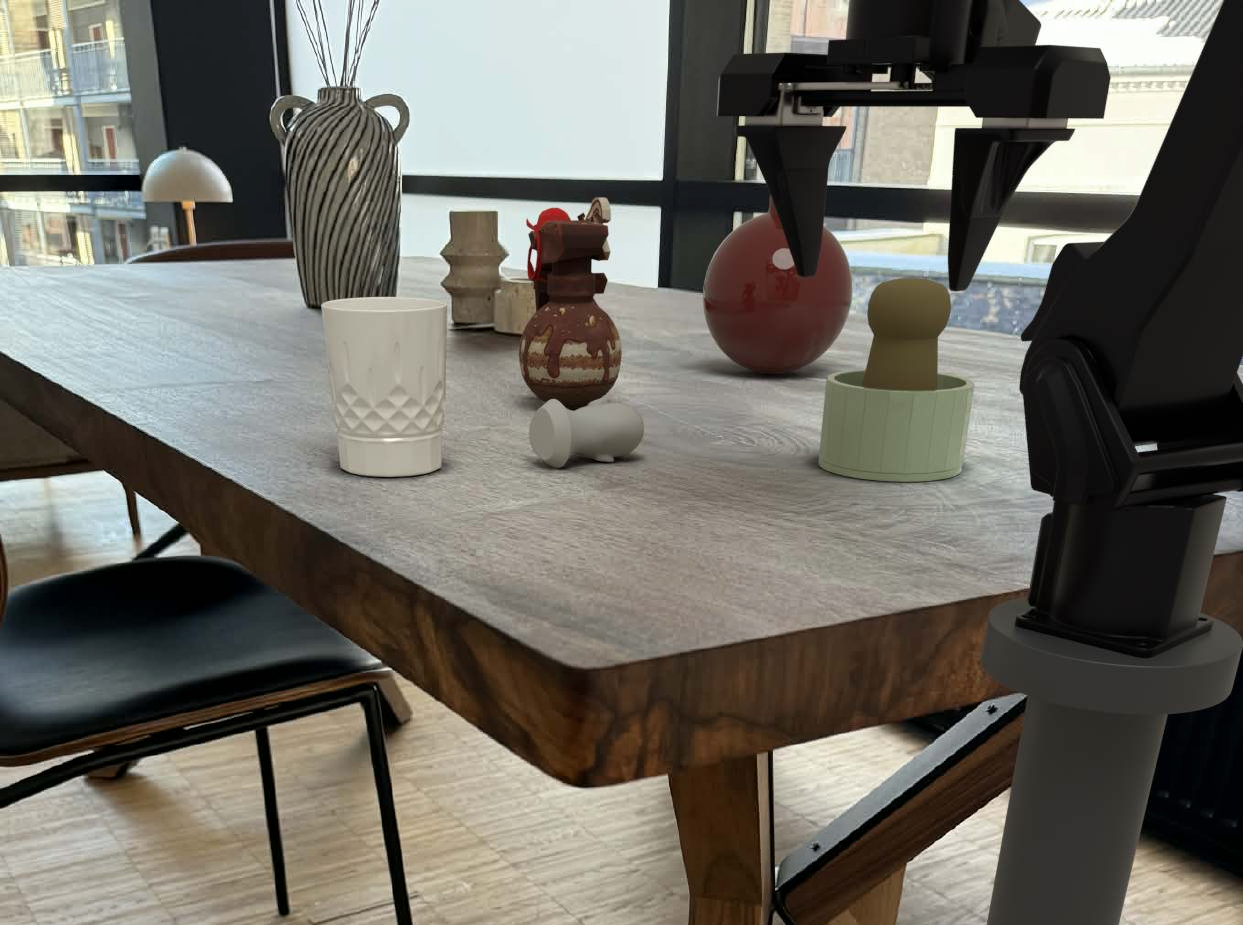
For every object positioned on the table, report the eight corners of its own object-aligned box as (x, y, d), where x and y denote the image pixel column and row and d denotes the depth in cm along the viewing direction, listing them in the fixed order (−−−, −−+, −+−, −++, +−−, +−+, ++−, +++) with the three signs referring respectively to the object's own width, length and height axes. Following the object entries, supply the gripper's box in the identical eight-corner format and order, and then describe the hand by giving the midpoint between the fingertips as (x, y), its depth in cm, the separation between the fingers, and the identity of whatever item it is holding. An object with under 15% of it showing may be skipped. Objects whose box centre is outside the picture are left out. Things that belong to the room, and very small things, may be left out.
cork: (830, 452, 99) (848, 275, 93) (911, 448, 100) (933, 273, 94) (868, 470, 93) (889, 284, 88) (953, 466, 95) (979, 283, 89)
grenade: (501, 399, 119) (500, 195, 112) (594, 394, 122) (598, 194, 114) (537, 419, 112) (538, 201, 104) (635, 413, 114) (643, 200, 106)
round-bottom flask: (671, 368, 134) (683, 121, 125) (785, 359, 140) (806, 122, 130) (753, 389, 124) (773, 122, 115) (874, 378, 130) (903, 123, 120)
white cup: (341, 482, 92) (330, 312, 87) (323, 458, 98) (313, 298, 93) (462, 476, 94) (459, 308, 89) (437, 452, 100) (433, 295, 95)
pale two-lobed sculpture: (619, 467, 102) (657, 457, 97) (518, 476, 98) (553, 465, 94) (612, 403, 101) (651, 389, 96) (510, 409, 97) (545, 395, 93)
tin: (988, 467, 97) (1002, 380, 94) (908, 488, 91) (920, 396, 89) (872, 447, 103) (881, 364, 100) (789, 465, 97) (797, 378, 94)
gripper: (1201, -93, 65) (1129, 287, 72) (857, -63, 77) (827, 262, 84) (1075, -118, 58) (1010, 304, 66) (720, -81, 70) (700, 273, 78)
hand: (879, 283), depth 74 cm, fingers open, 9 cm apart
